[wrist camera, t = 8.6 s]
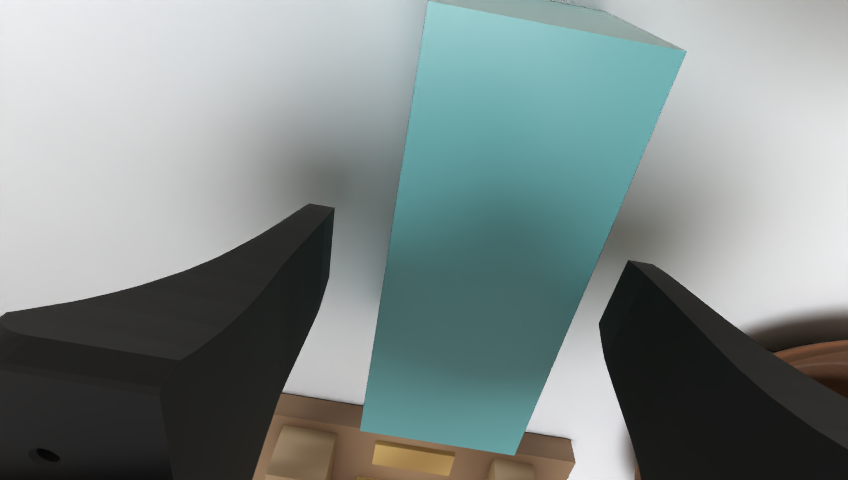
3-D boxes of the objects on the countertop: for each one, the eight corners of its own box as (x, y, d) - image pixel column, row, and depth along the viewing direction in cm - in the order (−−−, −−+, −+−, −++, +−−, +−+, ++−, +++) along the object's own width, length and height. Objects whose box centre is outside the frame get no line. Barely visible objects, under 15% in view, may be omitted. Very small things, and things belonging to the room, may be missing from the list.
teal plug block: (380, 332, 17) (355, 459, 13) (438, -22, 12) (428, 1, 7) (491, 351, 18) (502, 482, 13) (604, 10, 12) (686, 51, 8)
